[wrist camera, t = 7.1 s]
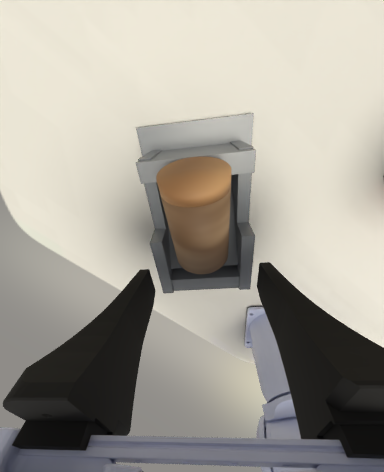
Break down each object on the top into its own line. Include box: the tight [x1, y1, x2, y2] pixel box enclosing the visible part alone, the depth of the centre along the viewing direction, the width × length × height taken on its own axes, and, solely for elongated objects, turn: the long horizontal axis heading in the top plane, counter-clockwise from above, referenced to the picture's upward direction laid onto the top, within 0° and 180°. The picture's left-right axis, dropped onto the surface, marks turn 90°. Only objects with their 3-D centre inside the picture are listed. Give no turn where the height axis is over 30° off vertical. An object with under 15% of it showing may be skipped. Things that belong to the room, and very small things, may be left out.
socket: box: [136, 113, 256, 293], centre depth 14 cm, size 13×8×6 cm, turn 6°
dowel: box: [156, 157, 231, 274], centre depth 11 cm, size 4×4×6 cm
